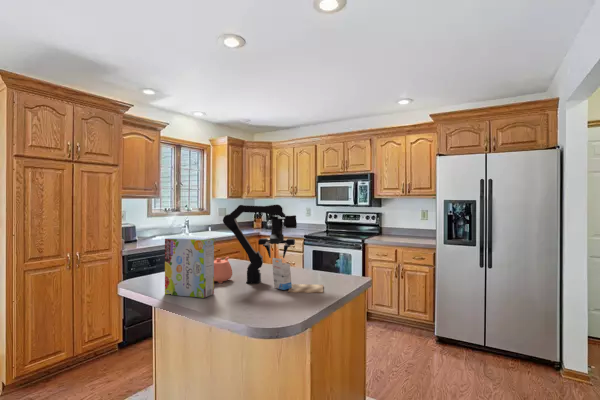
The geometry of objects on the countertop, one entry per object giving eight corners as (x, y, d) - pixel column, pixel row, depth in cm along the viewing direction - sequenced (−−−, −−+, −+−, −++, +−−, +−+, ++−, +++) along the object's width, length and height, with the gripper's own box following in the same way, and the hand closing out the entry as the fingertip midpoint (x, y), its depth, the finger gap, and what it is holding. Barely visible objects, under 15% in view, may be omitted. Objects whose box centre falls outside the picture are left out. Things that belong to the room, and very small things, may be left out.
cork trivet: (288, 292, 155) (288, 291, 155) (291, 285, 168) (291, 284, 168) (322, 293, 154) (322, 291, 154) (323, 285, 166) (323, 284, 166)
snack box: (215, 293, 153) (215, 237, 153) (204, 299, 145) (203, 239, 145) (176, 289, 160) (176, 236, 160) (163, 294, 152) (163, 238, 152)
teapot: (239, 277, 186) (239, 255, 186) (221, 286, 167) (221, 261, 167) (217, 276, 190) (217, 254, 190) (197, 284, 170) (197, 260, 170)
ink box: (292, 288, 160) (290, 257, 160) (284, 290, 157) (281, 259, 157) (281, 285, 167) (279, 256, 167) (273, 287, 163) (271, 257, 164)
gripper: (256, 229, 168) (255, 260, 168) (292, 229, 166) (292, 261, 166) (260, 227, 179) (260, 256, 179) (295, 228, 178) (295, 257, 177)
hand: (276, 258), depth 175 cm, fingers open, 7 cm apart
